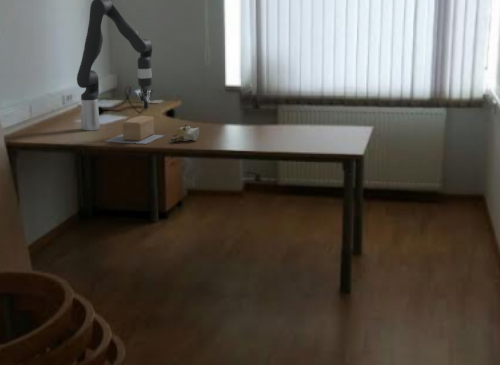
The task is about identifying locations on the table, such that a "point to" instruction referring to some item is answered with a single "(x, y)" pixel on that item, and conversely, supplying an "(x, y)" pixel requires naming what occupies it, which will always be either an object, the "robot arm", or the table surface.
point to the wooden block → (138, 128)
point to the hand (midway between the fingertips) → (146, 108)
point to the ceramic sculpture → (186, 134)
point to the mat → (144, 141)
